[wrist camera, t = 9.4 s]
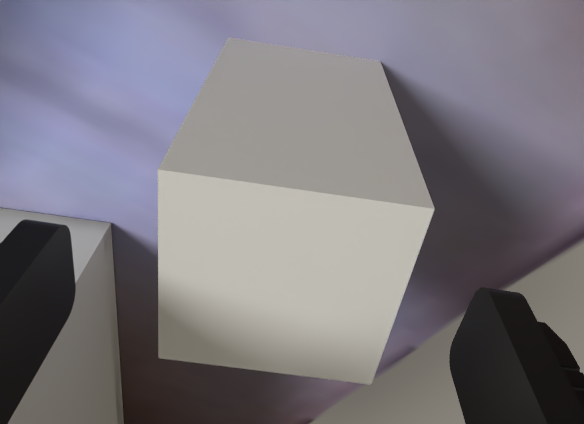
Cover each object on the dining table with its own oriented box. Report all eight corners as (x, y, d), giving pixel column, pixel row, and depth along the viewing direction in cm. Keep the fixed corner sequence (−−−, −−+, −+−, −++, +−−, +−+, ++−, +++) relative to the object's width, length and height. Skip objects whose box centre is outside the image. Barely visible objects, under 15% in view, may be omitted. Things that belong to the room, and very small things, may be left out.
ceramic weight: (228, 37, 15) (158, 169, 8) (380, 61, 15) (435, 209, 8) (218, 171, 17) (158, 358, 10) (348, 190, 17) (371, 384, 11)
